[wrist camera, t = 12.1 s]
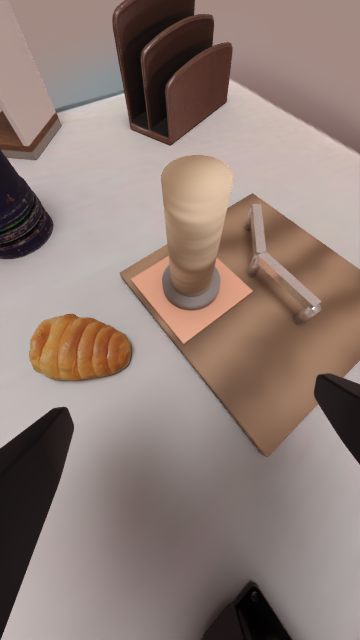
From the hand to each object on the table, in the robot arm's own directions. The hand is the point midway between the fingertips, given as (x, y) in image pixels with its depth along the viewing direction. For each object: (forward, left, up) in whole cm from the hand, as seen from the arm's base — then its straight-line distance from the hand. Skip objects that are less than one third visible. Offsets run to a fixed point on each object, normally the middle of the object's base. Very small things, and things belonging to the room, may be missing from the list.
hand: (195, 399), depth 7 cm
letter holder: (+43, -33, -14) cm, 56 cm away
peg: (+10, -8, -12) cm, 18 cm away
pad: (+10, -8, -13) cm, 18 cm away
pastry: (+11, +5, -14) cm, 19 cm away
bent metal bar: (+6, -18, -13) cm, 22 cm away
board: (+5, -14, -14) cm, 20 cm away
